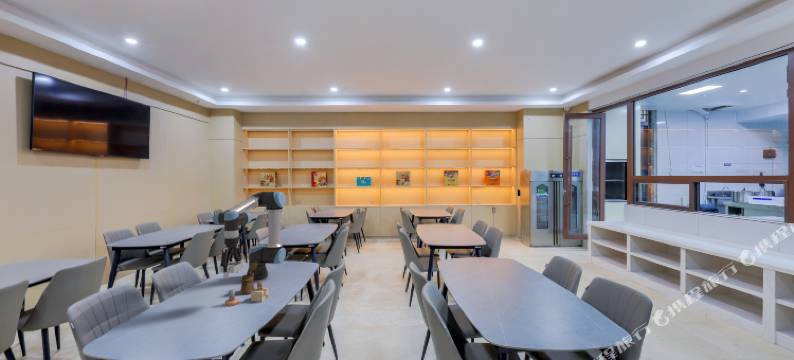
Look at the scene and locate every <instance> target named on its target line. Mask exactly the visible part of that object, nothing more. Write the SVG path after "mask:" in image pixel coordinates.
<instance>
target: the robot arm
mask: <svg viewBox="0 0 794 360" xmlns="http://www.w3.org/2000/svg"><path fill="white" fill-rule="evenodd" d="M286 204H287V198H286V196H285V193H283V192H282V191H260V192H256V193H254V194H252V195H249V196H248V197H247V198H246V199H245V200H244V201H241V202H239V203H238V204H235V205H234V206H232V207H230V208H228V209H226V210H224V211H222V212H221V211H220V212H215V213H213V215H212V222H213V224H215V225H221V226H222V225H223V226H224V228H223V229H224V230H223V231H224V235H223V236H224V239H223V243H224V245H225V248H222V249H221V252H222V253H221V259H220V265H219V266H221V267H223V272H224V273H223V278H227V279H228V278H229V277H230V275H229V274H230V273H229V266H228V263H229V262H230V260H231V256H233V259H234V262H242V252H241V244H239V243H240V242H239V235H240V233H239V227H240V226H245V225H247V224H250V223H251V221H252V220H253V218H252V215H251V213H250V212H249V211H250V210H253V209H257V208H265V211H267V212H268V213H267V214H268V216H267V217H268V219H267V220H268V223H267V224H268V225H267V226H268V227H267V228H268V229H267V231H268V232H267V233H268V234H267V235H268V237H267V239H268V241H267V243H268V244H266V245H265V244H261V245H260V244H259V245H255V246H252V247H250V248H249V249H248V270H247V273H246V275H247V274H249V273H250V271H249V267H250V265H251V264H252V263H253V262H257V263H258V267H257V269H256V270H255V271H254V272H253V273H254V278H253V281H257V280H263V279H265V278H267V277H268V276H269V271H268V267H267V265H268V264H271V265H272V264H273V265H279V264H282V263H283V262H284V261H285V258H286V254H287V250H286V248H285V247H283V243H281V238H282V237H281V234H282V233H281V229H282V228H281V224H282V223H281V212H282V211H283V208H285V206H286ZM266 264H267V265H266ZM235 273H236V274H237V273H240V270H239V271H237V272H235ZM235 273H234V274H235Z"/></svg>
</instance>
